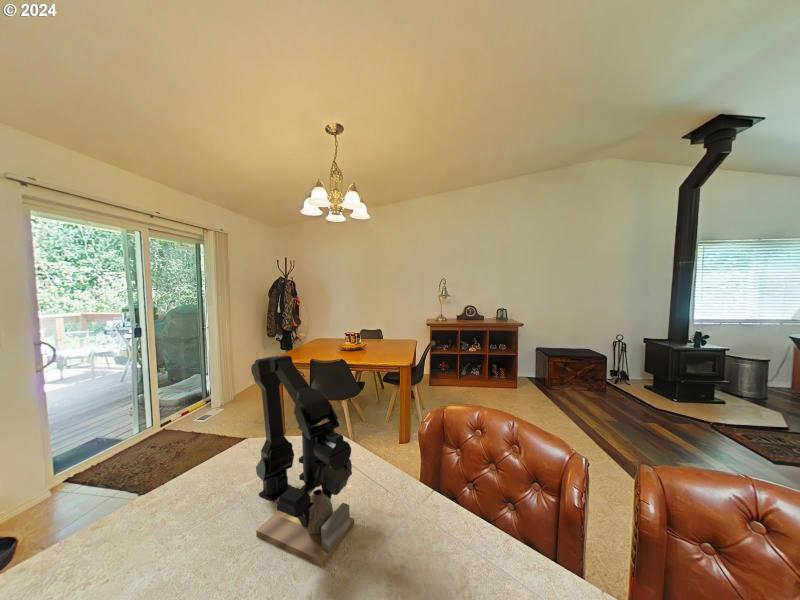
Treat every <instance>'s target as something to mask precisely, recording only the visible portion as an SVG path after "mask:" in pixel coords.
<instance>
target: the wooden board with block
mask: <svg viewBox="0 0 800 600" xmlns="http://www.w3.org/2000/svg"><path fill="white" fill-rule="evenodd" d="M354 526H355V518H354V517H351V515H350V504H348V503H344V502H342V503H340V505H339V506H337V509H336V510H335V511H334V510H333V514H332V515H331V517H330V518H329V519H328V520H327V521H326V523H325V524H324V525H323V526H322V527H321V534H319V535H313V534H310V533H309V532H308V531H307V530H306V528H304V527H303V526H302V524H301V522H300V521H299V519H298V517H293V516H291V515H288V514H286V513H284V512H281V511H279V510H277V511H276V512H275V513H274V514H273V515H272V516H270V517H269V518H268V519H267V520H266V521H265V522H263V524H261V525H260V526H259V527H258V528H257V529H256V530H255V536H256V537H257V538H259V539H261V540H263V541H266V542H267V543H268V544H269V543H270V544H272V545H274V546H277V547H279V548H280V549H283V550H284V551H287V552H289V553H291V554H293V555H296V556H297V557H300V558H301V559H303V560H306V561H308V562H310V563H312V564H315V565H316V566H319V567H321V568H323V569H324V567H325V566H326V565H327V563H328V562H329V560H330V559H331V558H332V557H333V556H334V554H335V552H336V551H337V550H338V548H339V547H340V545H341V544H342V543H343V541H344V540H345V538H346V537H347V536H348V535H349V533H350V532H351V531H352V529H353V527H354Z"/></svg>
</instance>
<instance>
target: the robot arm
mask: <svg viewBox="0 0 800 600" xmlns="http://www.w3.org/2000/svg"><path fill="white" fill-rule="evenodd" d="M250 372H251V374H252V376H253V379H254V382H255V383H256V385H257V386H258V387H259V388H260V389H261V399H262V409H263V418H264V419H263V420H264V421H263V422H264V429H265V430H264V431H265V440H264V443H263V446H262V447H261V450H260V456H261V457H260V460H259V462H258V463H257V464H256V466H255V470H256V471H255V473H256V475H257V477H258V478H260V480H261V481H262V488H263V489H262V491H260V492H258V496H259V497H261V498H264V499H266V500H268V501H272V502H276V505H277V506H276V510H277V511H278V510H279V511H281V512H284V513H286V514H288V515H291V516H293V517H298V519H299V521H300V522H301V524H302V526H303V527H304V528H308V523H309V508H310V507H311V506H312V505H313V503H312V502H310V497H311V495H310V494H312V493H313V492H314V491H315V490H316V489H320V487H321V490H323V492H324V494H325V495H327V496H328V497H329V499H330V500H331V501H332V495H333V496H338V495H339V494H340V492H341V491H342V490H343V489H345V487H346V486H347V484H348V480H349V478H350V477H351V475H352V474H353V472H352V468H353V467H352V466H353V464H352V460H351V459H350V458H351V454H352V447H351V445H350V443H349V442H348V441H347V440H345V439H344V436H343V435H344V434H343V435H342V434H341V433H337V432H336V431H335V429H338V428H340V423H339V421H338V419H339V418H338V415H337V413H336V411H335V410H334V408H333V406H332V403H331V401H330V400H329V398H328V397H327V396H325V394H324V393H322V392H321V391H320V390H318V389H315V388H312V387H311V386H310V385H309V383H308V381H307V380H306V379H305V377H304V376H303V375H302V374H301V372H300V371H299V369H298V368H297V367H296V365H295V364H294V362H293V358H292V356H291V355H288V354H285V355H280V356H279V355H273V356H269V357H263V358H257V359H255V360H254V363H253V364H251V370H250ZM281 384H282V386H283V387H284V389H285V390H286V391H287V393H288V394H289V396H290V398H291V400H292V402H293V404H294V408H293V414H294V416H295V420H296V422H297V424H298V427H297V428H298V430H300V431H301V438H302V440H301V441H302V442H301V443H302V446H301V447H302V455H301V456H300V457H298V463H300V464H302V472H301V473H300V474H299V476H298V477H299V478H298V479H299V481H303V483H304V485H302V486H301V487H300V488H298V487H296V486H295V487H294V486H293V485H292V484H289V478H288V469H289V470H290V469H291V468H292V467H293V464H294V457H295V452H294V450H293V443H292V442H291V441H290V440H288V439H287V438H286V437H285V431H284V422H283V421H284V420H283V411H282V401H281V400H282V398H281V390H280V386H281ZM327 420H328V421H327ZM325 421H327V422H325ZM323 422H324V423H323ZM320 423H322V424H320Z"/></svg>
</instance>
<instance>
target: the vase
mask: <svg viewBox="0 0 800 600" xmlns="http://www.w3.org/2000/svg"><path fill="white" fill-rule="evenodd" d="M310 502H312V503H313V505H312V506H311V507H310V508H309V523H308V528H306V530H307V531H308V532H309V533H310V534H313V535H319V534H321V527H322V526H323V525H324V524H325V523H326V521H327V520H328V519H329V518H330V517H331V515H332V514H333V511H334V509H333V504H332V499H331V500H330V499H329V497H328V496H327V495H325V494H324V492H323V490H322V488H321V489H320V488H316V489H314V490H313V491H312V492H311V495H310Z"/></svg>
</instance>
